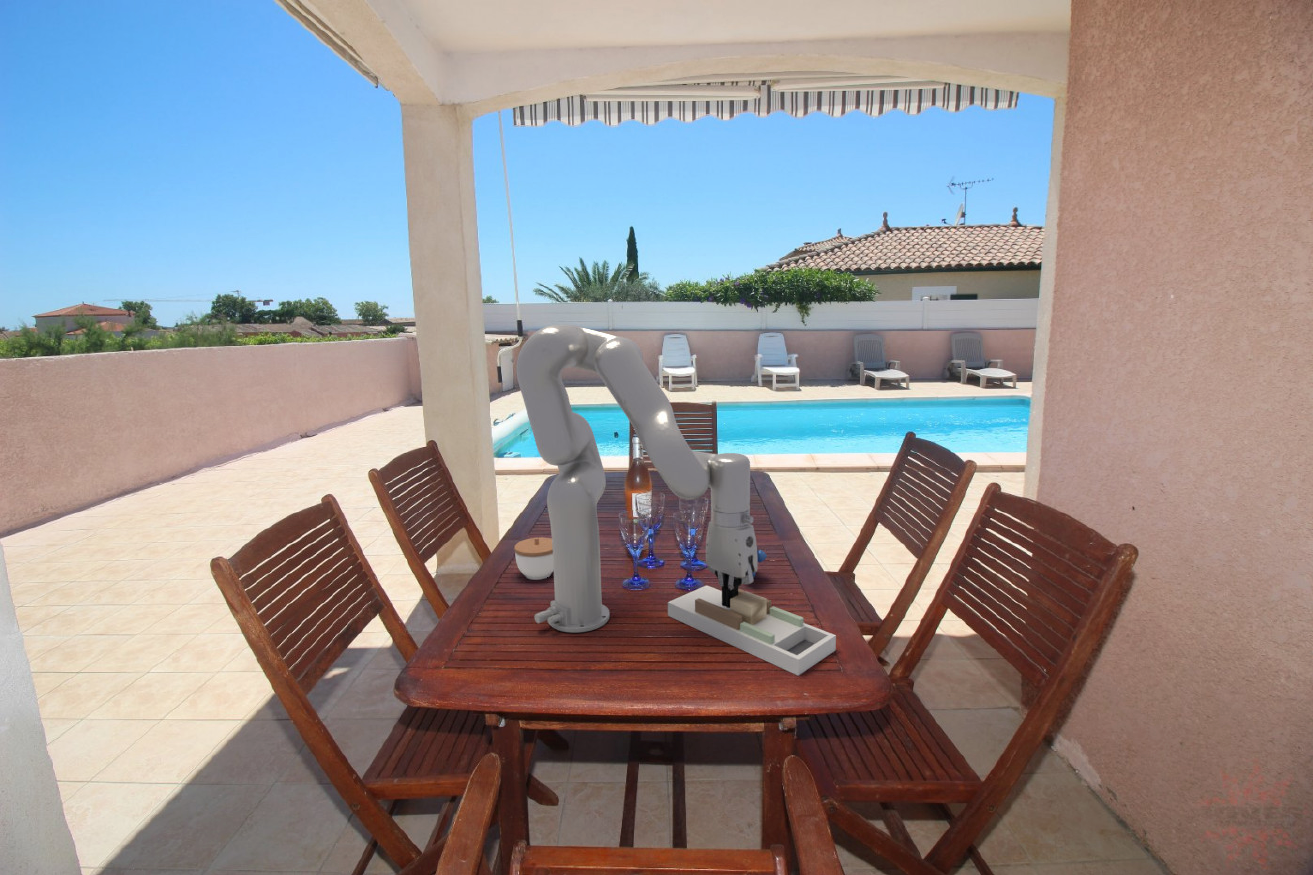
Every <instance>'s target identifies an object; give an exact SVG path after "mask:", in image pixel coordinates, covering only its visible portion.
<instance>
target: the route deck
mask: <svg viewBox="0 0 1313 875" xmlns="http://www.w3.org/2000/svg"><path fill="white" fill-rule="evenodd" d="M746 591H747V590H743V589H741V588H740V587H738V595H739V594H741V593H744V592H746ZM766 599H767V610H766V618H765V619H763V620H762V621H760V622H758V623H756V624H754V625H751V624H748V623H746V622H743V623H742V616H741V615H739V614H736V613H734V612H731V611H730V608H727V607H726V606H722V590H720V589H717V588H715V587H712V586H709V585H704V586H702V587H699V588H697V589H695V590H693V591H690V592H688V593H686V594H684V595H681V596H679V597H677V598H674V599H672V600H669V601H668V602H667V616H668V617H670V618H672V619H674V620H676V621H678V622H680V623H684V624H685V625H687V626H690V627H692V628H694V629H696V630H698V631H700V632H703V633H704V634H706V635H709V636H711V637H713V638H716V639H718V640H720V641H722V642H725V643H726V644H728V645H731V646H732V647H735V648H737V649H740V650H742V651H744V652H746V653H749V654H750V655H751V656H752V655H753V656H754V657H757V658H759V659H761V660H764V661H765V662H768V663H770V664H772V665H774V666H775V667H778V668H780V669H783V670H785V671H787V672H789V673H792V674H793V675H796V676H801V675H802V674H804V673H805V672H806V671H807V670H808V669H811V668H812V667H813V666H814V665H817V663H819V662H820V661H822V660H823V659H825V658H826V657H828V656H829V655H831V654H832V653H834V652H836V647H837V646H836V645H837V644H836V642H837V641H836V640H837V635H836V634H834V633H831V632H828V631H825V630H823V629H820V628H818V627H815V626H813V625H810V624H807V623H805V622H804V617H803V616H801V615H797V614H795V613H792V612H789V611H787V610H785V609H781V608H779V607H776V606H772V600H771V599H768V598H766Z"/></svg>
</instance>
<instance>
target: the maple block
mask: <svg viewBox="0 0 1313 875" xmlns="http://www.w3.org/2000/svg"><path fill="white" fill-rule="evenodd" d="M745 591H746V592H744V593H741V594H739V595H737V596H735V597H733V598H731V599H730V611H731V612H734V613H736V614H739V615H741V616H742V623H743V622H746V623H748V624H751V625H754V624H756V623H758V622H760V621H762V620H763V619H765V618H766V610H767V599H768V598H766V597H763V596H760V595H758V594H754V593H752V592H750V591H747V590H745Z"/></svg>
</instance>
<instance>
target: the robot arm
mask: <svg viewBox="0 0 1313 875" xmlns="http://www.w3.org/2000/svg"><path fill="white" fill-rule="evenodd" d="M516 361H517V362H516V378H517V383H518V386H519V389H520V393H521V395H522V399H523V402H524V405H525V410H526V414H527V418H528V421H529V424H530V427H531V431H532V434H533V438H534V442H535V445H536V446H535V447H536V448H537V451H538V453H539V455H540V457H541V459H542V460H543V461H544V462H546V463H547V464H549V465H551V466H557V468H558V471H559V474H558V475H557V476H555V478H554V479H553V480H552V482H551V484H550V486H549V488H548V492H547V496H546V502H547V503H546V504H547V511H548V517H549V522H550V523H549V524H550V532H551V539H552V549H553V568H554V571H553V583H554V584H553V585H554V586H553V587H554V600H551V601H550V607H548V608H547V609H546V610H542V611H540V612H537V613H535V614H534V621H535V622H536V623H537V624H540V623H543V622H546V621H547V624H549V625H550V626H551V627H552V628H553V629H556V631H560V632H564V633H573V634H574V633H576V634H577V633H578V634H579V633H586V632H590V631H593V630H597V629H599V628H601V627H603V626H604V625H606V624H607V622H608V621H609V620H610V609H609V608H608V606H606V605H604V604H602V603H603V602H602V601H603V600H602V575H601V574H602V573H601V570H602V569H601V547H600V528H599V520H598V513H597V510H598V509H597V504H598V502H599V501H600V498H602V496H603V494H604V492H605V490H606V484H607V482H606V481H607V480H606V478H607V477H606V474H605V470H604V466H603V462H602V458H601V455H600V452H599V448H598V445H597V442H596V441H597V440H596V438H595V435H594V432H593V430H592V426H591V425H590V423H589V422H588V420H587V419H586V418H585V417H584V416H583V415H581V414H579V413H576V412H573V409H572V406H571V402H570V399H569V395H568V392H567V389H566V387H565V384H564V382H563V379H562V372H563V370H565V369H568V368H572V369H573V368H574V369H579V370H583V371H587V372H590V373H595V374H598V376H599V377H600V379H601V381H602V382H603V384H604V385H605V387H606V388H607V390H608V391H609V393H610V394H611V395H612V397H613V399H614V400H615V401H616V403H617V404H618V406H619V407H620V408H621V410H622V412H623V414H625V416H626V418H627V420H629V422H630V424H631V425H632V427H633V430H634V432H635V435H636V436H637V439H639V441H640V443H641V446H642V447H643V448H644V450H645V453H646V454H647V456H648V458H649V460H650V461H651V463H652V465H653V466H654V469H655V470H656V471H657V473H658V474H659V476H660V478H662V479H663V481H664V483H665V484H666V485H667V487H668V489H670V491H671V492H672V493H673V494H674V495H676V496H677V497H678V498H679V499H682V500H687V501H689V500H690V501H692V500H697V499H699V498H700V497H702V496H703V495H704V494H705V493H706V492H707V491H708V489H710V521H709V522H708V525H707V527H708V528H707V531H706V532H707V533H706V539H705V562H706V565H707V569H708V571H710V572H711V573H712V574H713V575H715V577H716V578H717V579H718V585H719V586H720V587H721V591H722V606H726V607H727V608H730V599H731V598H733V597H735V596H737V595H738V588H740V586H742V585H750V584H752V583H754V577H753V575H752V573H755V572H756V573H757V572H758V566H759V565H758V564H759V562H758V559H757V550H758V549H757V548H758V546H757V537H756V533H755V529H754V525H753V523H754V520H755V519H754V516H751V515H750V513H751V460H750V459H749V457H748V456H746V455H744V454H742V453H738V452H737V453H735V452H725V453H724V452H723V453H711V452H704V451H697V450H692V448H691V447H690V445H689V444H688V442H687V441H686V439H685V437H684V436H683V434H682V432H681V430H680V427H679V426H678V423H677V420H676V418H675V414H674V409H673V407H672V405H671V402H670V400H669V398H668V396H667V395H666V393H665V392H664V390H663V389H662V388H661V386H660V385H659V383H658V382H657V380H656V379H655V377H654V376H653V374H652V372H651V371H650V370H649V368H648V366H647V365H646V364H645V362H644V355H643V352H642V350H641V347H640V345H638V344H637V342H635V341H634V340H632V339H630V338H628V337H625V336H618V335H613V334H610V333H606V332H602V331H597V330H594V329H589V328H585V327H581V326H578V325H573V324H551V325H547V326H544V327H542V328H540V329H538V330H537V331H535V332H534V333H533V334H532V335H530V337H528V338H527V340H526V341H525V342H524V344H523V345H522V346H521V349H520V350H519V352H518V355H517V359H516ZM756 573H755V574H756Z"/></svg>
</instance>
